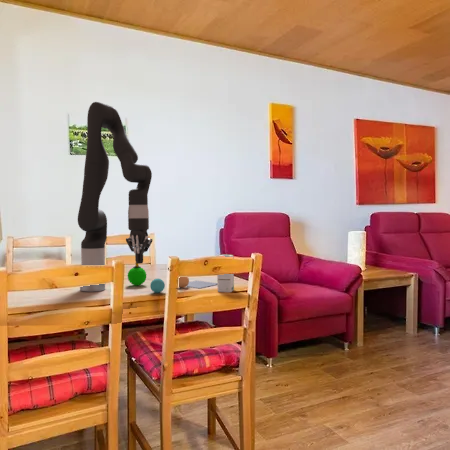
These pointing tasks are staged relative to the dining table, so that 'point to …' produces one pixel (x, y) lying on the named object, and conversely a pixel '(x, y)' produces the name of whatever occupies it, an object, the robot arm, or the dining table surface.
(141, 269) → the ornament
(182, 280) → the orange ball
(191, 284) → the slate mark
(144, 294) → the dining table surface
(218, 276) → the syrup box
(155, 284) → the teal cue ball
